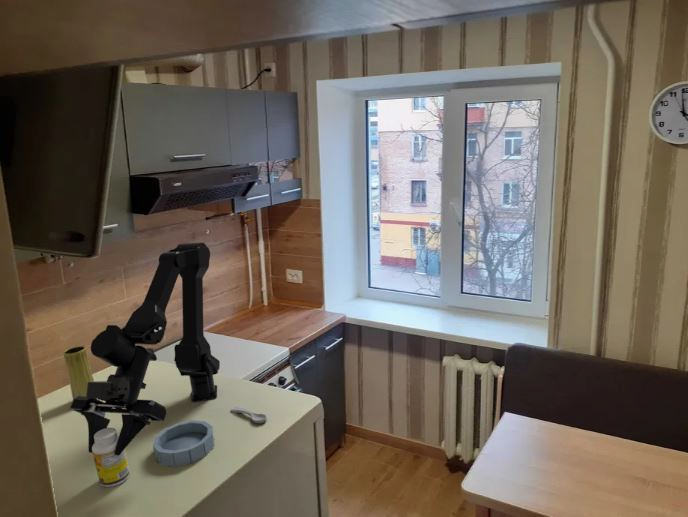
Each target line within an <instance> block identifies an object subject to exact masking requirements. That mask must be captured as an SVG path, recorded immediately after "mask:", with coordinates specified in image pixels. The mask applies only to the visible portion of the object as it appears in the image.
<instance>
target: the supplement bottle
mask: <svg viewBox="0 0 688 517" xmlns="http://www.w3.org/2000/svg"><path fill="white" fill-rule="evenodd" d="M118 438H119V435H118V433H117V430H116V428H114V427H107V428H105V429H102V430H100V431H98V432H97V433H95V435H94V442H95V443H94V444H93V446H92V452H93V453H92V456H93V460H94V463H95V468H96V472H97V477H98V481H99V484H100V485H101V486H102V487H105V488H110V487H111V488H112V487H116V486H118V485H121V484H122V483H124V482H125V481H126V480H127V479H128V478H129V477H130V466H129V463H128V462H129V461H128V458H127V454H126V448H125V449H124V450H123V451H122V453H121V454H120V455H115V454H114V453H115V448H116V444H117V441H118Z"/></svg>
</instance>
